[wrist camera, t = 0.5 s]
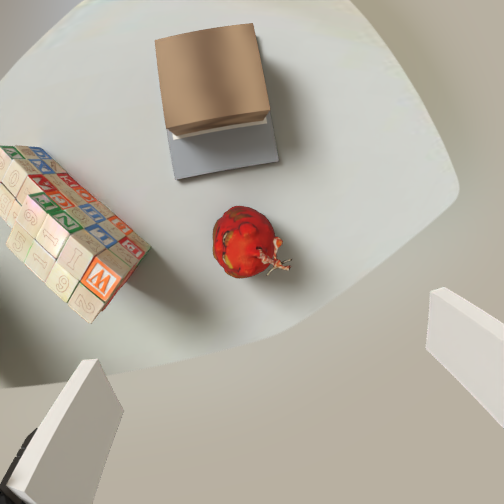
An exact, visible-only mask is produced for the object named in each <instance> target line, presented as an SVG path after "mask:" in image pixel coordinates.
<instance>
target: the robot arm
mask: <svg viewBox="0 0 504 504" xmlns="http://www.w3.org/2000/svg"><path fill="white" fill-rule="evenodd" d="M426 349H427V350H428V351H429V352H430V353H431V354H432V355H433V356H434V357H435V358H436V359H437V360H438V361H439V362H440V363H441V364H442V365H443V366H444V367H445V368H446V369H447V370H448V371H449V372H450V373H451V374H452V375H453V376H454V377H455V378H456V379H457V380H458V381H459V382H460V383H461V384H462V385H463V386H464V387H465V388H466V389H467V390H468V391H469V392H470V393H471V394H472V396H473V397H474V398H475V399H476V400H477V401H478V402H479V403H480V404H481V405H482V406H483V407H484V408H485V409H486V410H487V411H488V412H489V413H490V414H491V416H492V417H493V418H494V419H495V420H496V421H497V422H498V423H499V424H500V425H501V426H502V427H503V428H504V324H503V323H502V322H500V321H499V320H497V319H495V318H494V317H493V316H491V315H489V314H488V313H486V312H485V311H483V310H482V309H480V308H478V307H477V306H475V305H473V304H472V303H470V302H469V301H467V300H465V299H464V298H462V297H461V296H459V295H457V294H456V293H454V292H452V291H451V290H449V289H447V288H446V287H442V288H439V289H436V290H433V291H430V303H429V318H428V330H427V340H426ZM123 412H124V410H123V408H122V406H121V404H120V402H119V400H118V399H117V397H116V395H115V393H114V391H113V389H112V387H111V385H110V383H109V381H108V379H107V377H106V375H105V373H104V371H103V369H102V367H101V364H100V362H99V360H98V359H87V360H82V361H81V363H80V364H79V366H78V367H77V368H76V370H75V371H74V373H73V374H72V376H71V377H70V379H69V380H68V382H67V383H66V385H65V386H64V388H63V390H62V391H61V393H60V394H59V396H58V397H57V399H56V400H55V402H54V403H53V405H52V407H51V408H50V410H49V411H48V413H47V415H46V416H45V418H44V419H43V421H42V423H41V424H40V426H39V428H36V429H35V430H34V431H33V432H32V433H31V434H30V435H28V437H27V438H26V439H25V441H24V443H23V444H22V446H21V449H20V450H19V451H18V453H17V457H15V458H14V460H13V462H12V463H11V465H10V467H9V469H8V471H7V473H6V474H5V476H4V478H3V480H2V482H1V484H0V504H93V500H94V497H95V493H96V490H97V487H98V484H99V481H100V478H101V475H102V472H103V469H104V466H105V463H106V460H107V457H108V454H109V451H110V448H111V446H112V442H113V440H114V437H115V434H116V431H117V429H118V426H119V423H120V421H121V418H122V415H123Z"/></svg>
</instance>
